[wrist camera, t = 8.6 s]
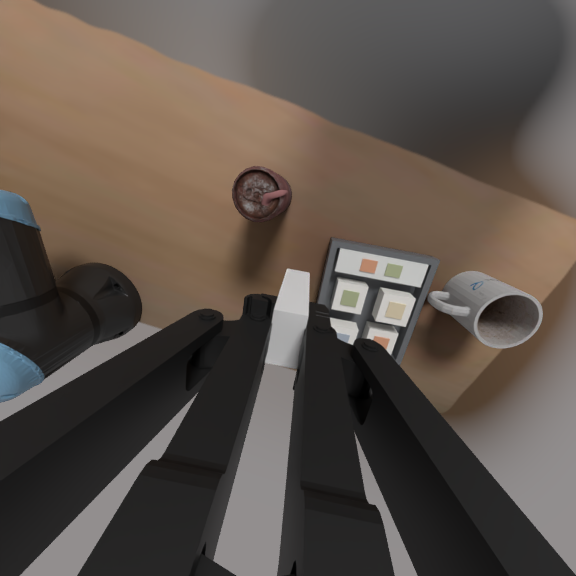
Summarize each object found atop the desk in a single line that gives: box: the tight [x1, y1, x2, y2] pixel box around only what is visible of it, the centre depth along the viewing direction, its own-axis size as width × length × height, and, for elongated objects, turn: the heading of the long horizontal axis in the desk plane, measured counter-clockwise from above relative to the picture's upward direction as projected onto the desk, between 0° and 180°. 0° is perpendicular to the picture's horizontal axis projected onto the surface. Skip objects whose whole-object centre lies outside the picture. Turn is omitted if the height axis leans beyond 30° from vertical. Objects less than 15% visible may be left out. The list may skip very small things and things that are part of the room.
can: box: [232, 166, 292, 222], centre depth 36 cm, size 6×6×14 cm
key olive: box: [330, 277, 369, 315], centre depth 45 cm, size 5×5×3 cm
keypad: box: [316, 237, 440, 366], centre depth 46 cm, size 17×20×3 cm
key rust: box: [362, 321, 398, 355], centre depth 47 cm, size 5×5×3 cm
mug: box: [427, 271, 543, 348], centre depth 41 cm, size 12×9×10 cm
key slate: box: [330, 318, 359, 345], centre depth 46 cm, size 5×5×3 cm
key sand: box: [372, 287, 416, 327], centre depth 43 cm, size 5×5×3 cm
